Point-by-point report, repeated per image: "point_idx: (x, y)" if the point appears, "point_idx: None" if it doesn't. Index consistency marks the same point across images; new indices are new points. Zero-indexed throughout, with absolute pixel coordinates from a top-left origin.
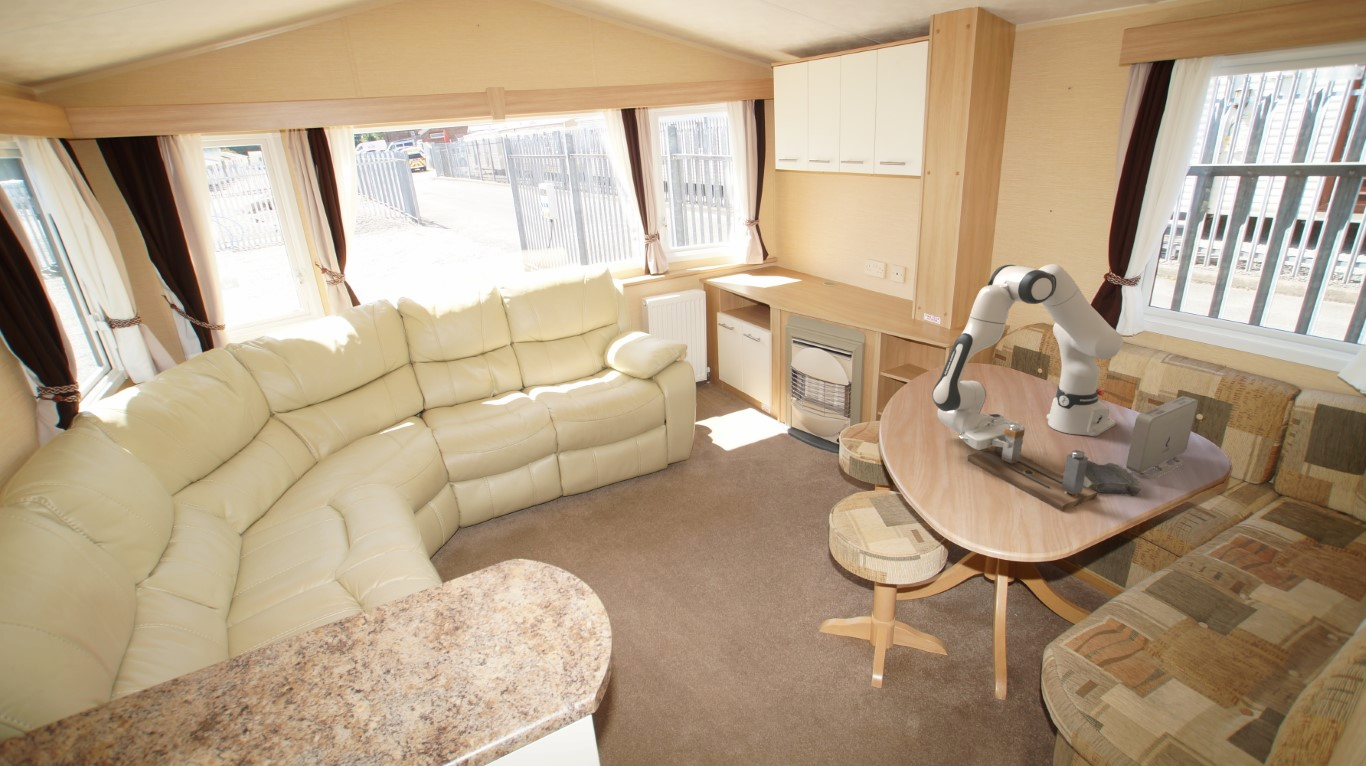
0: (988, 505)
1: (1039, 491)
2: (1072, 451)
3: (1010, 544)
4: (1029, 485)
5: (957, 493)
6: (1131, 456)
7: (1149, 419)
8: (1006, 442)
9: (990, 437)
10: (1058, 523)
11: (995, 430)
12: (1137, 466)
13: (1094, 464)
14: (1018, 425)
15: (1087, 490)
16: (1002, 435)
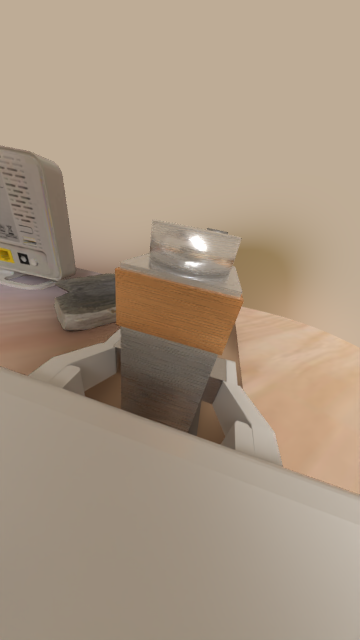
0: (348, 398)
1: (232, 336)
2: (222, 231)
3: (348, 345)
4: (231, 351)
5: None
6: (62, 254)
7: (54, 163)
8: (222, 369)
9: (337, 491)
10: (257, 323)
11: (70, 608)
12: (72, 266)
13: (73, 294)
14: (187, 226)
15: None
16: (151, 423)
